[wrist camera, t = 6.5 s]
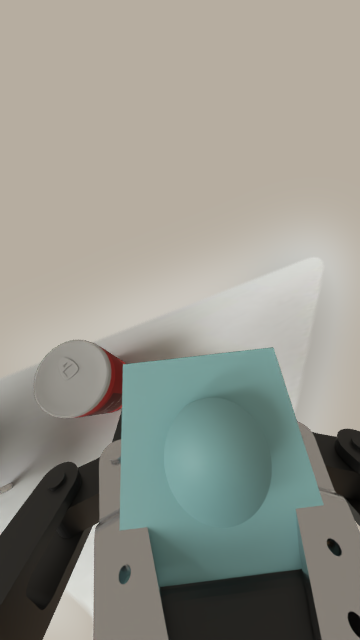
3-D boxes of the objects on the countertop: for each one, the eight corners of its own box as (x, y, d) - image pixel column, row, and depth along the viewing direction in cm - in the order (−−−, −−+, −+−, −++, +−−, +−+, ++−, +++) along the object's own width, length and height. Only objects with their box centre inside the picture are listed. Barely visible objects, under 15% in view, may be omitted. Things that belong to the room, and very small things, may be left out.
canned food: (106, 351, 31) (67, 327, 21) (146, 375, 29) (124, 361, 19) (75, 394, 28) (14, 390, 18) (117, 423, 27) (75, 436, 17)
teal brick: (166, 460, 13) (98, 649, 3) (161, 386, 15) (111, 357, 5) (235, 452, 13) (387, 613, 3) (221, 380, 15) (288, 338, 5)
